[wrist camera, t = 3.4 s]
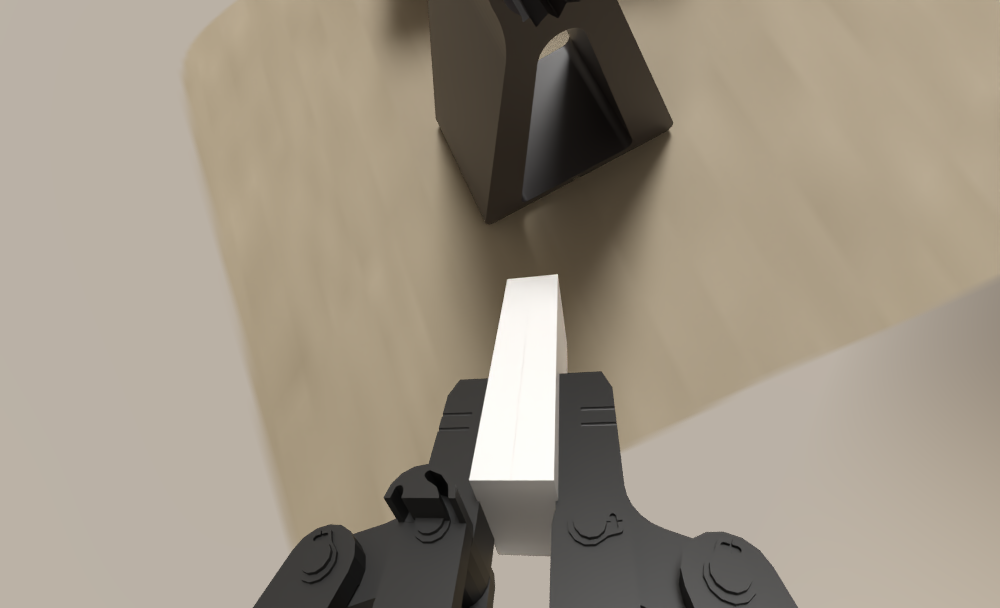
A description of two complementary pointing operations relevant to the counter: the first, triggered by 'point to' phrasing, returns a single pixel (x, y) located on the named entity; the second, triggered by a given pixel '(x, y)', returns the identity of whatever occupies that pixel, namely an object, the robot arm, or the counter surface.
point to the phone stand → (537, 94)
